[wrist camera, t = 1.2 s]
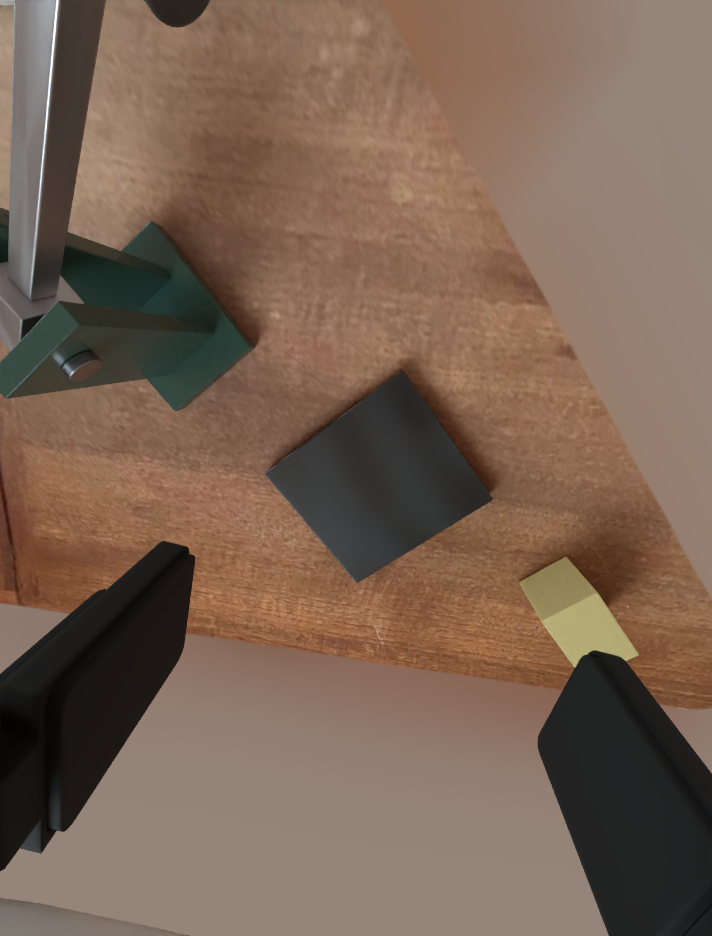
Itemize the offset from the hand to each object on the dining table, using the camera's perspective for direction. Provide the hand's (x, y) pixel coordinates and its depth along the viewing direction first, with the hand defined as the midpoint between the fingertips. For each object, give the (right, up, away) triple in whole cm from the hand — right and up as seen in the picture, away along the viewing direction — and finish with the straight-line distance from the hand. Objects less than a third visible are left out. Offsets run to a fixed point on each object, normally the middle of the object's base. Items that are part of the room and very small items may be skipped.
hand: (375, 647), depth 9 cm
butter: (+16, -6, +21) cm, 27 cm away
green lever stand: (-13, +14, +17) cm, 25 cm away
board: (+1, +3, +19) cm, 19 cm away
